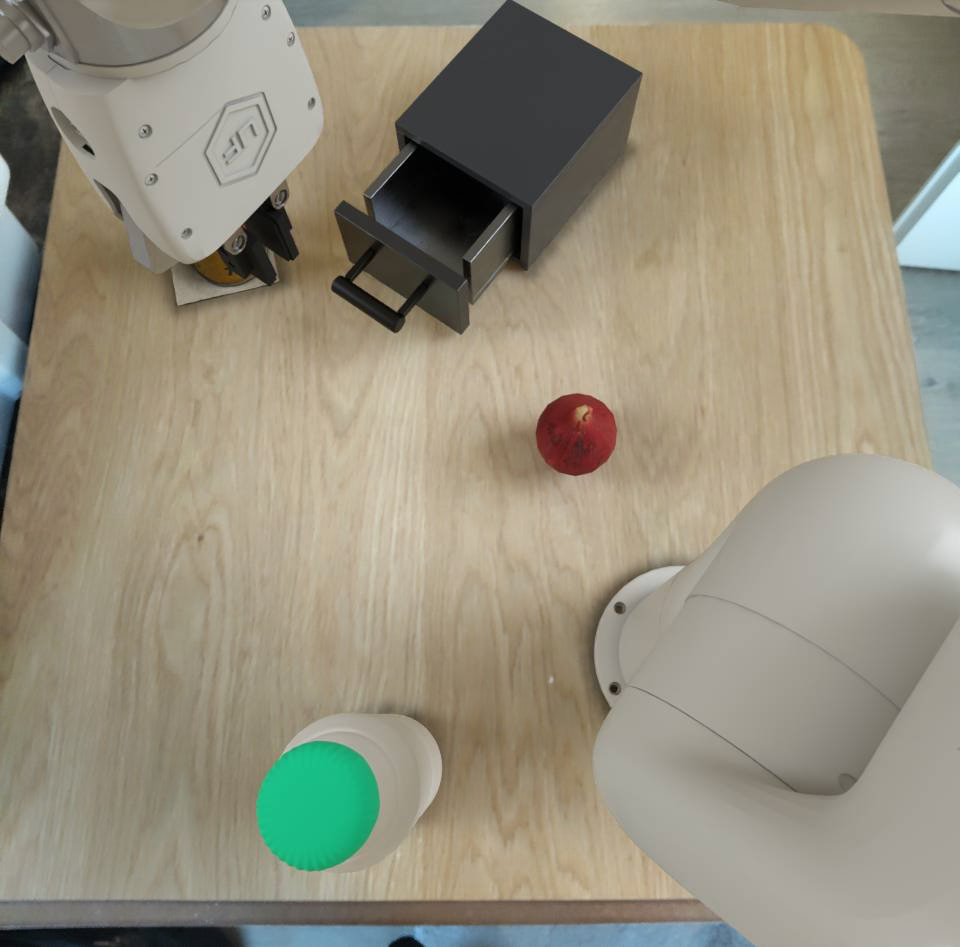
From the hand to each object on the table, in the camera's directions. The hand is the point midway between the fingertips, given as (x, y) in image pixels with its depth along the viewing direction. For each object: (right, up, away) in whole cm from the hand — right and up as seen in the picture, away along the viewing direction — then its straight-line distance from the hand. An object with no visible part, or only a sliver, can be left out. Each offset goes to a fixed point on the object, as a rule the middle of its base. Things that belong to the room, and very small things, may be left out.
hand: (264, 256), depth 44 cm
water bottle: (+6, -32, +10) cm, 34 cm away
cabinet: (+15, +14, +24) cm, 31 cm away
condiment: (-9, +6, +22) cm, 25 cm away
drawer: (+9, +6, +21) cm, 23 cm away
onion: (+19, -10, +17) cm, 27 cm away
